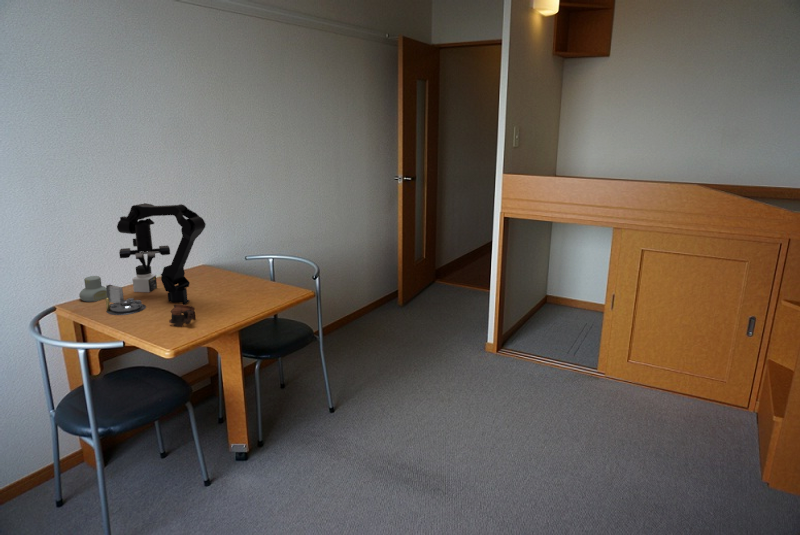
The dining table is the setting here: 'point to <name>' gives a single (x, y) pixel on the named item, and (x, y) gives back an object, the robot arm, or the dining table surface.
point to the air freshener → (93, 290)
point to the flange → (121, 313)
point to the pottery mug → (179, 318)
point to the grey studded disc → (121, 300)
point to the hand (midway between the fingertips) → (147, 271)
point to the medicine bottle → (144, 280)
